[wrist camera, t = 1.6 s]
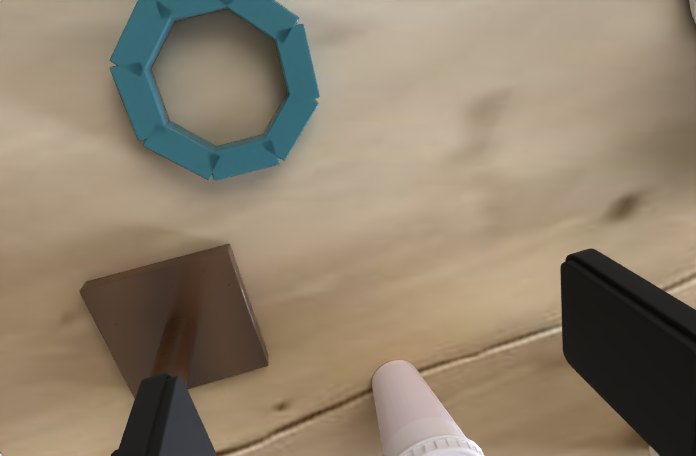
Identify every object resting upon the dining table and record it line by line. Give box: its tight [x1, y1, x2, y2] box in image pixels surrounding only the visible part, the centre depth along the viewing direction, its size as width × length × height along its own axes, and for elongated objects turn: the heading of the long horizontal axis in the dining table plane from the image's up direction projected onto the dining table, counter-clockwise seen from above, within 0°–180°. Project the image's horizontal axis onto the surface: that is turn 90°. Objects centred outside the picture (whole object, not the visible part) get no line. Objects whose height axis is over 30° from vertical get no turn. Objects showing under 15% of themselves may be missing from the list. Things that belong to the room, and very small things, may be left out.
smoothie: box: [372, 360, 484, 456], centre depth 30 cm, size 6×6×14 cm
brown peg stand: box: [80, 244, 268, 398], centre depth 26 cm, size 9×9×10 cm
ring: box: [110, 0, 320, 180], centre depth 25 cm, size 10×10×2 cm
